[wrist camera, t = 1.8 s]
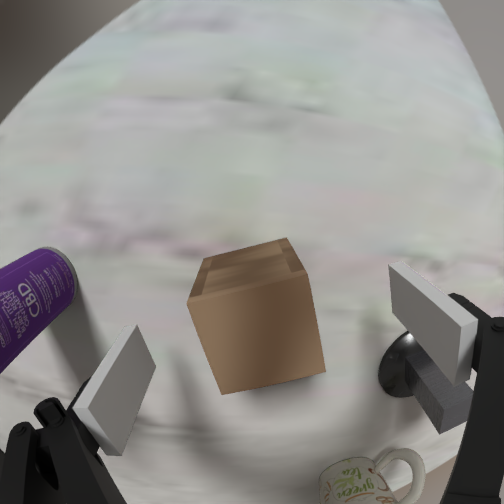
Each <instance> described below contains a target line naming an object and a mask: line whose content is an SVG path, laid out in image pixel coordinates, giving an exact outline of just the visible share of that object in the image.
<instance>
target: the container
mask: <svg viewBox="0 0 504 504" xmlns="http://www.w3.org/2000/svg"><path fill="white" fill-rule="evenodd" d="M77 287H78V284H77V277H76V273H75V270H74V268H73V266H72V264H71V262H70V261H69V260H68V258H67V257H66V256H65V255H64V254H63V253H61V252H60V251H59V250H57V249H54V248H51V247H42V248H39V249H37V250H35V251H33V252H31V253H29V254H27V255H25V256H23V257H21V258H19V259H17V260H15V261H14V262H12V263H10V264H8V265H6V266H4V267H2V268H1V269H0V374H1V373H2V372H3V370H4V369H5V368H6V367H7V366H8V365H9V364H10V363H11V362H12V361H13V360H14V359H15V358H16V357H17V356H18V355H19V354H20V353H21V352H22V351H23V350H24V349H25V348H26V347H27V346H28V345H29V344H30V343H31V342H32V340H33V339H34V338H36V337H37V336H38V335H39V334H40V333H41V332H42V331H43V330H44V329H45V328H46V327H47V326H48V325H49V324H50V323H51V322H52V321H53V320H54V319H55V318H56V317H57V316H58V315H59V314H60V313H61V312H62V311H63V310H64V309H65V308H67V307H68V306H69V305H70V304H71V303H72V301H73V300H74V298H75V296H76V294H77Z"/></svg>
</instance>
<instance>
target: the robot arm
mask: <svg viewBox="0 0 504 504" xmlns="http://www.w3.org/2000/svg"><path fill="white" fill-rule="evenodd" d="M388 266H389V276H390V287H391V300H392V312H393V314H394V315H395V316H396V317H397V318H398V319H399V321H400V322H401V323H402V324H403V325H404V326H405V328H406V329H407V330H408V331H409V332H410V333H411V335H412V336H413V337H414V338H415V339H416V341H417V342H418V343H419V344H420V345H421V347H422V348H423V349H424V350H425V351H426V353H427V354H428V355H429V356H430V357H431V359H432V360H433V361H434V362H435V364H436V365H437V366H438V367H439V369H440V370H441V371H442V372H443V374H444V375H445V376H446V377H447V379H448V380H449V381H450V382H451V384H452V385H453V386H454V387H455V386H457V385H459V384H461V383H463V382H465V381H467V380H469V379H470V375H471V369H472V368H473V369H474V370H475V371H476V372H477V377H476V382H475V386H474V391H473V397H472V402H471V406H470V411H469V415H468V419H467V423H466V427H465V431H464V434H463V438H462V441H461V445H460V448H459V451H458V455H457V458H456V461H455V464H454V467H453V470H452V473H451V475H450V478H449V481H448V484H447V487H446V489H445V491H444V495H443V497H442V499H441V501H440V504H501V498H499V492H500V488H501V484H502V480H503V475H504V317H494V318H491V317H490V316H489V315H487V314H486V313H485V312H484V311H482V310H481V309H480V308H478V307H477V306H475V305H474V304H473V303H472V302H470V301H469V300H468V299H466V298H465V297H464V296H461V295H458V294H455V293H451V294H449V295H447V294H445V293H444V292H443V291H441V290H440V289H439V288H438V287H436V286H435V285H434V284H432V283H431V282H430V281H428V280H427V279H426V278H424V277H423V276H422V275H420V274H419V273H418V272H416V271H415V270H413V269H412V268H411V267H409V266H408V265H407V264H405V263H404V262H402V261H399V262H396V263H392V264H389V265H388ZM155 368H156V365H155V363H154V361H153V359H152V357H151V355H150V352H149V350H148V348H147V346H146V344H145V341H144V339H143V337H142V335H141V332H140V330H139V328H138V325H131V326H126V327H124V329H123V330H122V332H121V333H120V335H119V336H118V338H117V339H116V341H115V342H114V344H113V345H112V347H111V348H110V350H109V351H108V353H107V354H106V356H105V357H104V359H103V360H102V362H101V363H100V365H99V367H98V368H97V370H96V371H95V373H94V374H93V376H91V377H90V378H89V379H88V380H87V381H85V382H84V383H83V385H82V386H81V388H80V389H79V391H78V393H77V394H76V397H74V399H73V401H72V402H71V404H70V405H69V407H68V408H67V410H65V409H64V407H63V406H62V404H61V402H60V401H59V400H58V398H55V397H52V398H48V399H45V400H43V401H42V402H40V403H39V404H38V405H37V406H36V407H35V409H34V415H35V416H36V418H37V419H38V420H39V422H40V423H41V425H42V426H43V427H44V428H41V429H37V430H35V429H34V428H33V426H32V425H31V424H30V423H29V422H21V423H18V424H17V425H15V426H14V427H13V429H12V430H11V432H10V434H9V438H8V443H7V447H6V452H5V455H4V453H3V452H2V451H1V450H0V504H127V503H126V501H125V500H124V498H123V497H122V495H121V493H120V492H119V490H118V488H117V486H116V485H115V483H114V481H113V479H112V478H111V476H110V474H109V472H108V470H107V468H106V467H105V465H104V463H103V461H102V459H101V457H100V456H99V455H98V454H97V451H98V449H99V446H100V447H101V449H102V450H103V451H104V453H105V454H106V455H111V456H122V454H123V451H124V448H125V445H126V443H127V440H128V437H129V435H130V432H131V429H132V427H133V424H134V422H135V419H136V416H137V414H138V411H139V409H140V406H141V403H142V401H143V398H144V396H145V393H146V391H147V388H148V386H149V383H150V381H151V378H152V376H153V373H154V371H155Z"/></svg>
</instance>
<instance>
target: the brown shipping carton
mask: <svg viewBox="0 0 504 504" xmlns="http://www.w3.org/2000/svg"><path fill="white" fill-rule="evenodd" d="M187 306H188V309H189V312H190V315H191V317H192V320H193V323H194V326H195V328H196V331H197V334H198V336H199V339H200V342H201V344H202V347H203V349H204V352H205V355H206V357H207V360H208V362H209V365H210V367H211V370H212V372H213V375H214V377H215V380H216V382H217V385H218V387H219V389H220V392H221V394H222V395H224V394H230V393H235V392H240V391H246V390H251V389H255V388H260V387H265V386H270V385H274V384H278V383H283V382H287V381H291V380H295V379H299V378H303V377H307V376H311V375H315V374H319V373H322V372H326V369H325V364H324V358H323V352H322V346H321V341H320V335H319V330H318V324H317V319H316V314H315V309H314V303H313V298H312V293H311V288H310V283H309V278H308V274H307V272H306V270H305V269H304V267H303V265H302V263H301V262H300V260H299V258H298V256H297V255H296V253H295V251H294V249H293V248H292V246H291V244H290V242H289V241H288V239H287V238H283V239H279V240H275V241H271V242H267V243H263V244H259V245H255V246H251V247H247V248H243V249H240V250H236V251H232V252H228V253H224V254H220V255H216V256H212V257H208V258H204V259H203V262H202V264H201V267H200V269H199V272H198V275H197V277H196V280H195V282H194V285H193V288H192V290H191V293H190V296H189V298H188V301H187Z"/></svg>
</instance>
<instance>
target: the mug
mask: <svg viewBox="0 0 504 504" xmlns="http://www.w3.org/2000/svg"><path fill="white" fill-rule="evenodd" d="M393 459H401V460H404V461H406V462H407V463H408V464H409V465H410V466H411V468H412V472H413V481H412V485H411V489H410V491H409V493H408V494H407V495H406V496H405V497H404V498H403V499H401V500H400V501H399V502H398V501H397V500H396V498H395V496H394V495H393V493H392V491H391V490H390V488H389V486H388V485H387V483H386V481H385V480H384V478H383V476H382V475H381V473H380V472H379V471H381V470H382V469H383V468H384V467H385V466H386V465H387V464H388V463H389V462H390V461H392V460H393ZM424 483H425V466H424V463H423V460H422V458H421V457H420V455H419V454H418V453H416V452H415V451H413V450H411V449H408V448H403V449H397V450H394V451H391V452H389V453H388V454H387V455H385V456H384V457H383V458H382V460H381V461H380V462H379V463H378V464H377V465H375V464H374V462H373V461H372V460H370V459H368V458H363V457H358V458H351V459H346V460H343V461H340V462H338V463H336V464H334V465H332V466H330V467H329V468H327V469H326V470H325V471H324V472H323V473H322V474H321V476H320V478H319V493H320V504H414V503H415V502H416V501H417V500H418V499H419V497H420V496H421V493H422V491H423V487H424Z"/></svg>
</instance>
